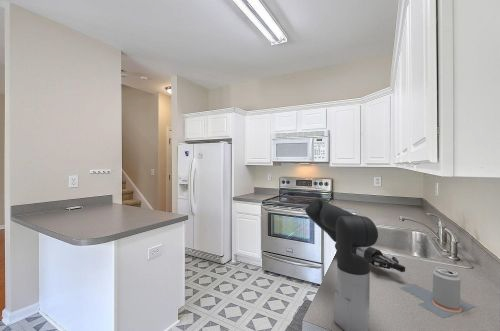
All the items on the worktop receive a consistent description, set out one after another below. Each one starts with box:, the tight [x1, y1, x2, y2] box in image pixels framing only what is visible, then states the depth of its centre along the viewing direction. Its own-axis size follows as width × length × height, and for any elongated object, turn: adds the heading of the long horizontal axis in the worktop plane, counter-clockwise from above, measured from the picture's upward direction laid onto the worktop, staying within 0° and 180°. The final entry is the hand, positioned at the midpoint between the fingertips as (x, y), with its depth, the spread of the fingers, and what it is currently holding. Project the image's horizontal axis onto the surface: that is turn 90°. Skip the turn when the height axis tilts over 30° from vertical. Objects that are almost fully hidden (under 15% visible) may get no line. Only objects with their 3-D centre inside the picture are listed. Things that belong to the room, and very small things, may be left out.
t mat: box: [399, 283, 476, 319], centre depth 86 cm, size 18×18×1 cm
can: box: [432, 266, 462, 309], centre depth 82 cm, size 8×8×12 cm
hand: (404, 269), depth 96 cm, fingers closed
